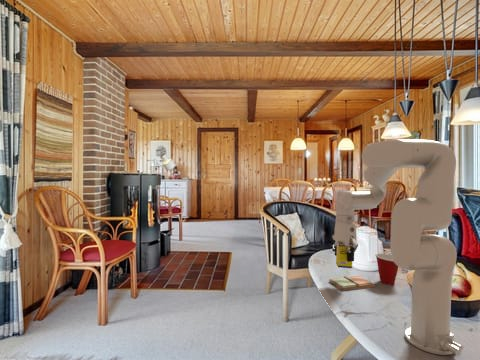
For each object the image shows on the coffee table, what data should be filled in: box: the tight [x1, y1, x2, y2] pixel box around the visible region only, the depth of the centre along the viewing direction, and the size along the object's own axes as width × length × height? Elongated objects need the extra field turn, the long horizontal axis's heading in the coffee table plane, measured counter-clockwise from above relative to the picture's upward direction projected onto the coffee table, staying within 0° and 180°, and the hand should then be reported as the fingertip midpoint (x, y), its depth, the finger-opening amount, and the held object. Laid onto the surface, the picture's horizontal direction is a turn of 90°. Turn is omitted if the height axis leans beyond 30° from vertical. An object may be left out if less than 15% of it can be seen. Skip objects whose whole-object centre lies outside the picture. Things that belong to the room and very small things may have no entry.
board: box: [328, 275, 375, 292], centre depth 126 cm, size 10×16×2 cm, turn 106°
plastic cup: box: [375, 253, 399, 285], centre depth 129 cm, size 11×11×12 cm
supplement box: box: [335, 241, 353, 269], centre depth 125 cm, size 6×6×11 cm
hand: (344, 258), depth 125 cm, fingers closed on supplement box, 8 cm apart
